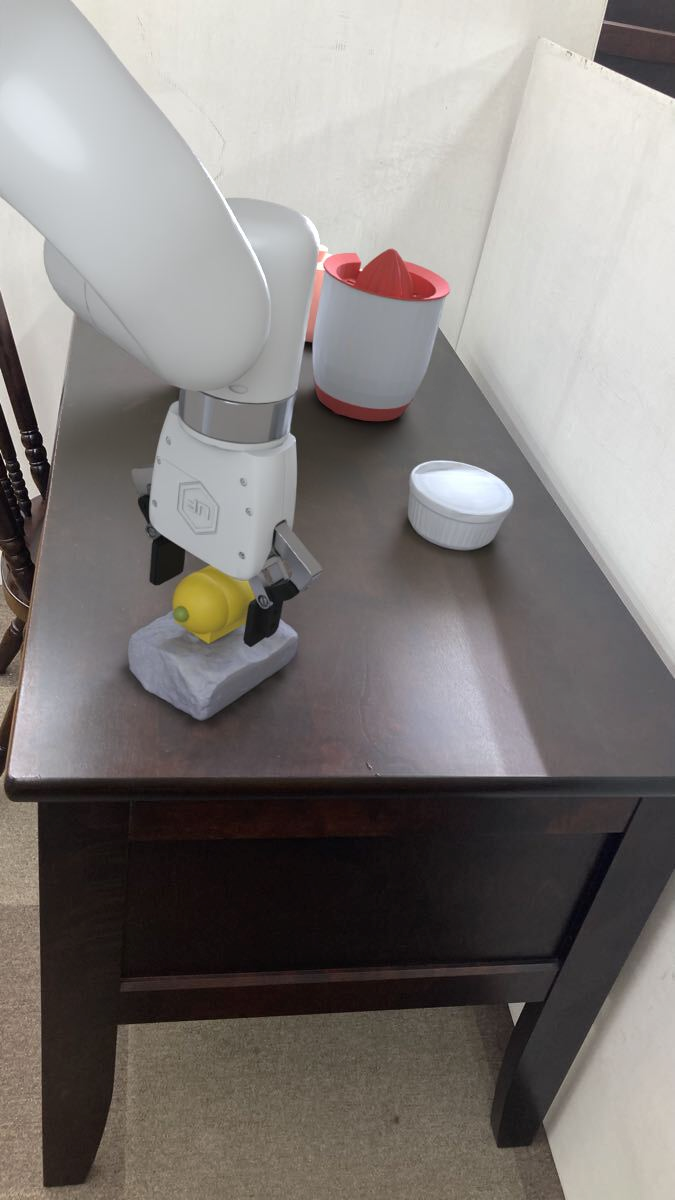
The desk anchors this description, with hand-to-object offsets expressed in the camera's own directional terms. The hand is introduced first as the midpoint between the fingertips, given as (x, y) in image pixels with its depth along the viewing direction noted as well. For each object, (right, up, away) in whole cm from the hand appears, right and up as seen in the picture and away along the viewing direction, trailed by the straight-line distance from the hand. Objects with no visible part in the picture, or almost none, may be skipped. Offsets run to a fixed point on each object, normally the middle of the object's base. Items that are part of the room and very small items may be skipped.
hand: (211, 607), depth 69 cm
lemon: (0, -1, +1) cm, 2 cm away
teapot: (+4, +41, +66) cm, 78 cm away
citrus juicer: (+13, +27, +49) cm, 57 cm away
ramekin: (+22, +8, +27) cm, 36 cm away
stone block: (-1, -5, +3) cm, 6 cm away
